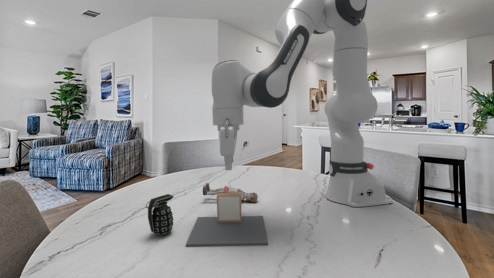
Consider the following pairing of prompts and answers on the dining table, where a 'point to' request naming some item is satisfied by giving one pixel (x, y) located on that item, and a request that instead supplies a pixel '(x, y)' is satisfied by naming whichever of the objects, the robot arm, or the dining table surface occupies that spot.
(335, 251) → the dining table surface
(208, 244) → the mat
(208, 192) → the figurine
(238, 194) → the tile
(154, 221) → the grenade
